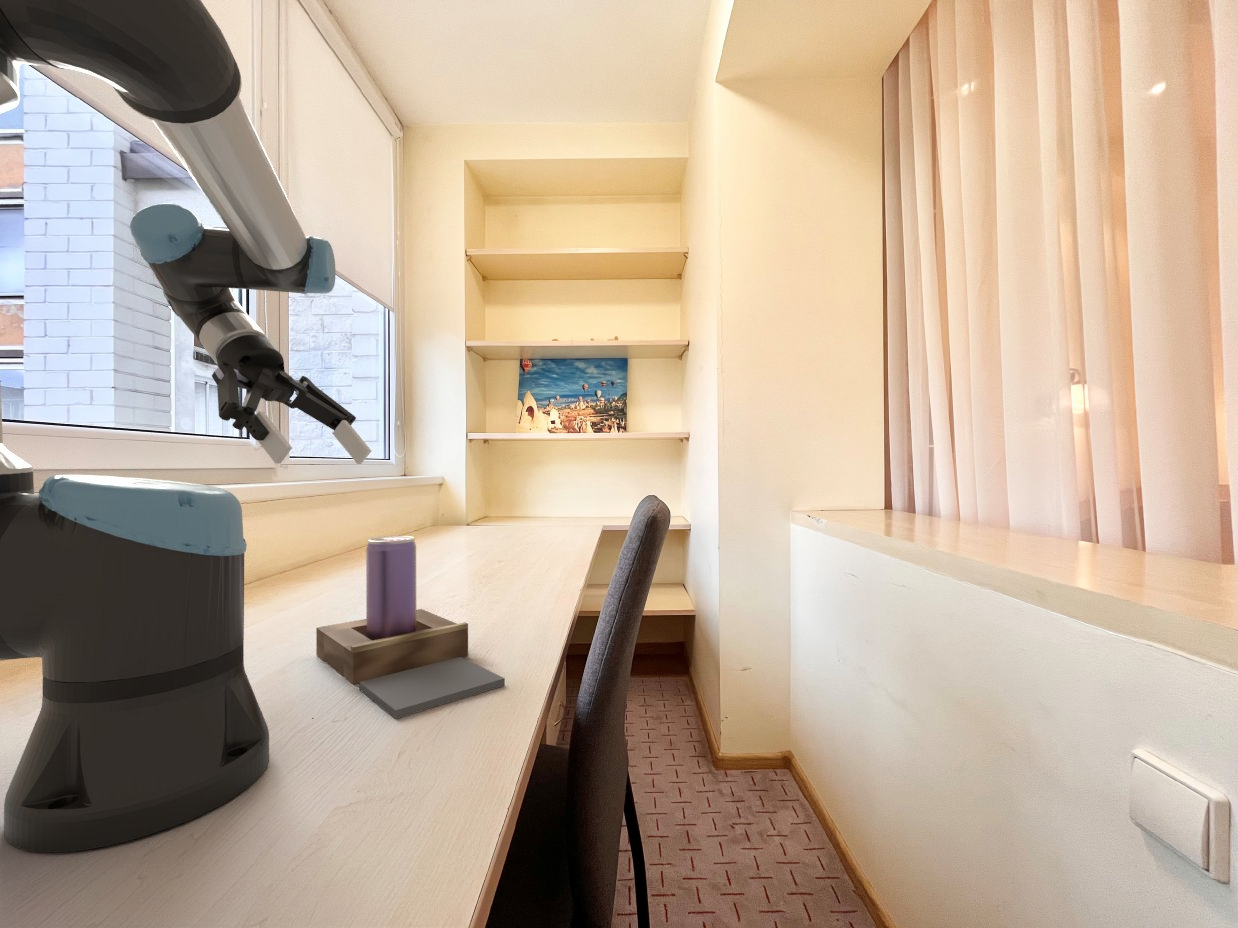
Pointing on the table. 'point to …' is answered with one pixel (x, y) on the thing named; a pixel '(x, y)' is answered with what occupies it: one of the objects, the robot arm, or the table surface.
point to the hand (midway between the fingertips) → (327, 456)
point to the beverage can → (390, 586)
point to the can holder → (390, 647)
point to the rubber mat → (429, 686)
